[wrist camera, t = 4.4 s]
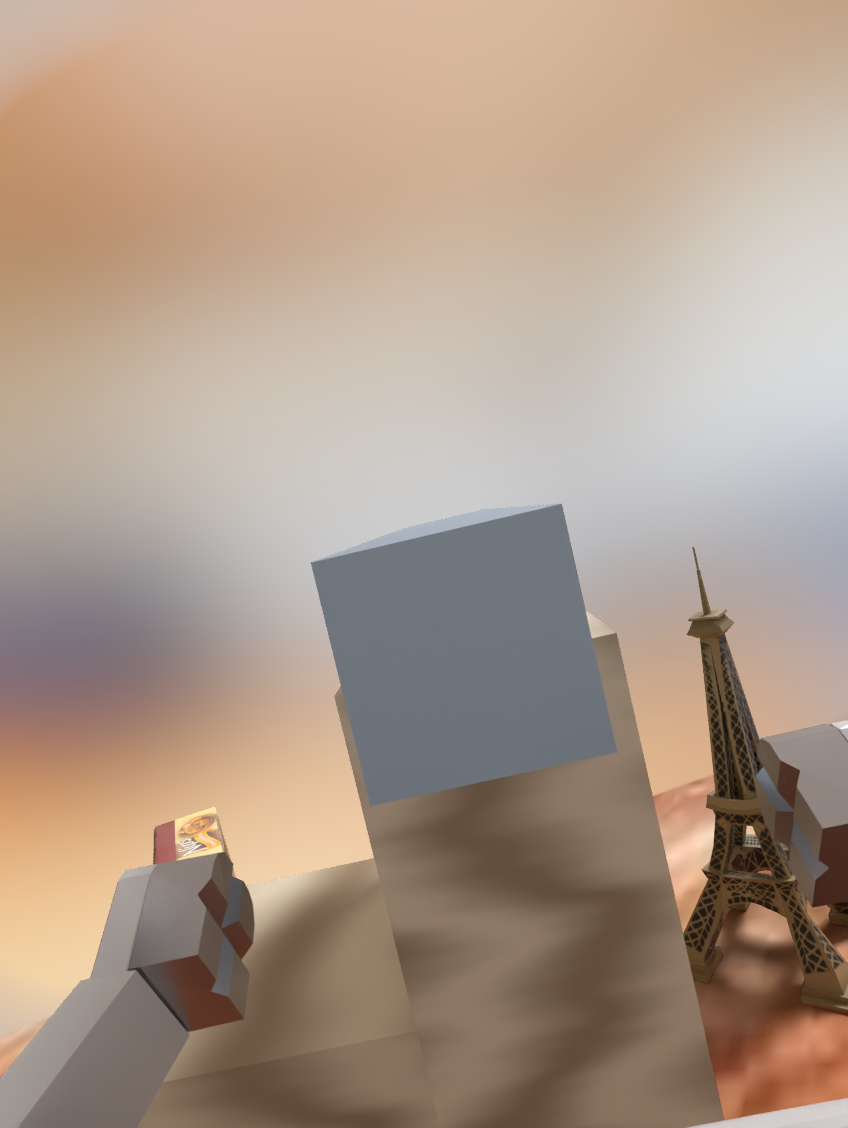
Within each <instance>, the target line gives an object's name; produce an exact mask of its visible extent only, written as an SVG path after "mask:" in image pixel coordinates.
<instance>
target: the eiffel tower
mask: <svg viewBox="0 0 848 1128" xmlns="http://www.w3.org/2000/svg"><path fill="white" fill-rule="evenodd" d="M693 552H694V557H695V561H696V566H697V575H698V580H699V587H700V593H701V600H702V606H703V612H698V613H696V614H695V615H693V616H692V617H691V618H689V620H688V621H693V622H692V624H691V627H690V630H689V631H688V633H687V635H689V636H693V637H696V638H700V643H701V653H702V663H703V673H704V682H705V692H706V702H707V712H708V722H709V731H710V742H711V752H712V762H713V772H714V782H715V790H714V791H712V792H711V793H709V794H708V795H707V805H706V808H709V809H713V811H714V813H715V815H716V818H715V832H714V846H713V851H712V855H711V860H710V861H709V863H708V864H707V865H706V866H705V867H704V868H703V869H701V870H702V871H703V872H704V874H705V875H706V877H707V878H708V881H707V883H706V886H705V888H704V890H703V892H702V894H701V896H700V898H699V901H698V903H697V905H696V907H695V909H694V911H693V914H692V916H691V918H690V920H689V922H688V925H687V927H686V929H685V931H684V933H683V936H684V940H685V945H686V949H687V954H688V958H689V963H690V967H691V972H692V976H693V980H694V981H699V982H703V983H709V981H710V979H711V977H712V975H713V973H714V971H715V970H716V968H717V966H718V964H719V962H720V960H721V958H722V956H723V955H722V951H721V947H717V946H715V944H716V942H717V939H718V936H719V934H720V931H721V929H722V926H723V923H724V921H725V918H726V916H727V913H728V912H729V911H730V910H731V909H735V910H742V911H747V909H748V907H749V905H750V903H751V902H752V903H756V904H759V905H761V906H763V907H766V908H768V909H770V910H772V911H775V912H777V913H779V914H780V915H782V916H784V917H786V918H787V921H788V925H789V928H790V932H791V935H792V938H793V942H794V945H795V948H796V952H797V955H798V959H799V962H800V965H801V969H802V972H803V975H804V982H803V984H802V987H801V992H802V996H801V999H800V1001H801V1004H805V1005H809V1006H814V1007H819V1008H823V1009H828V1010H833V1011H837V1012H842V1013H846V1014H848V963H847V962H846V961H845V959H844V958H843V957H842V956H841V954H840V953H839V952H838V951H837V950H836V948H835V947H834V946H833V945H832V943H831V942H830V941H829V940H828V938H827V937H826V936H825V935H824V934H823V932H822V931H821V930H820V929H819V927H818V926H817V925H816V924H815V922H814V921H813V920H812V919H811V917H810V916H809V915H808V914H807V911H806V910H807V897H806V896H805V894H804V892H803V890H802V888H801V887H800V885H799V883H798V881H797V879H796V878H795V876H794V874H793V872H792V870H791V869H790V867H789V857H790V848H789V847H787V846H785V845H784V844H782V843H781V842H779V841H777V840H776V839H774V838H773V836H772V834H771V832H770V830H769V828H768V826H767V824H766V822H765V820H764V817H763V815H762V813H761V810H760V807H759V803H758V798H757V794H756V775H757V774H758V773H759V771H760V770H761V769H762V768H763V765H762V763H761V762H760V760H759V758H758V757H757V747H758V743H759V741H760V740H759V737H758V734H757V731H756V728H755V725H754V722H753V718H752V715H751V712H750V709H749V706H748V703H747V700H746V698H745V694H744V691H743V689H742V686H741V682H740V679H739V676H738V673H737V670H736V667H735V664H734V661H733V658H732V655H731V652H730V649H729V646H728V643H727V640H726V637H725V632H726V631H727V630H728V629H729V628H730V627H731V626H732V624H733V623H734V622H733V621H732V620H730V619H729V618H728V617H727V616H726V615H725V614H724V613H726V612H727V610H726V609H724V610H714V611H710V607H709V603H708V600H707V596H706V592H705V589H704V585H703V581H702V578H701V573H700V570H699V568H698V563H697V558H696V553H695V549H694V547H693ZM747 826H753V828H754V831H755V834H756V835H749V834H746V827H747ZM763 870H770V871H771V872H772V875H770V874H762V873H757V872H759V871H763ZM827 906H828V907H829V908H831V910H830V912H829V920H830V924H835V925H842V926H848V901H847V902H841V903H835V904H829V905H827Z"/></svg>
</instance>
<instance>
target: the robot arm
mask: <svg viewBox="0 0 848 1128" xmlns="http://www.w3.org/2000/svg"><path fill="white" fill-rule="evenodd" d="M757 757H758V758H759V760H760V762H761V763H762V765H763V768H762V769H761V770H760V771H759V773H758V774H757V775H756V794H757V798H758V803H759V807H760V810H761V813H762V815H763V817H764V820H765V822H766V824H767V826H768V828H769V830H770V832H771V834H772V836H773V838H774V839H776V840H777V841H779V842H781V843H782V844H784V845H785V846H787V847H789V848H790V857H789V867H790V869H791V870H792V872H793V874H794V876H795V878H796V879H797V881H798V883H799V885H800V887H801V888H802V890H803V892H804V894H805V896H806V897H807V899H808V901H809V903H810V904H811V906H812V907H818V906H824V905H829V904H835V903H841V902H847V901H848V720H845V721H841V722H836V723H832V724H822V725H818V726H814V727H810V728H805V729H801V730H796V731H791V732H787V733H783V734H778V735H773V736H769V737H764V738H761V739H760V741H759V743H758V747H757ZM232 870H233V863H232V862H231V860H230V859H229V857H228V856H227V854H226V853H225V852H220V853H215V854H209V855H204V856H198V857H193V858H187V859H182V860H176V861H171V862H165V863H160V864H154V865H150V866H145V867H139V868H135V869H130V870H125V872H124V874H123V875H122V876H121V878H120V879H119V881H118V883H117V887H116V890H115V894H114V897H113V901H112V904H111V908H110V911H109V915H108V918H107V922H106V925H105V928H104V932H103V935H102V939H101V943H100V946H99V949H98V953H97V957H96V960H95V964H94V967H93V971H92V974H91V977H90V979H87V980H82V981H80V982H79V984H78V985H77V986H76V987H75V988H74V989H73V991H72V992H71V993H70V994H69V996H68V997H67V998H66V999H65V1000H64V1002H63V1003H62V1004H61V1005H60V1007H59V1008H58V1009H57V1010H56V1011H55V1013H54V1014H53V1015H52V1016H51V1017H50V1019H49V1020H48V1021H47V1022H46V1023H45V1025H44V1026H43V1027H42V1028H41V1030H40V1031H39V1032H38V1033H37V1034H36V1036H35V1037H34V1038H33V1039H32V1040H31V1042H30V1043H29V1044H28V1045H27V1047H26V1048H25V1049H24V1050H23V1051H22V1053H21V1054H20V1055H19V1056H18V1057H17V1059H16V1060H15V1061H14V1062H13V1063H12V1065H11V1066H10V1067H9V1068H8V1070H7V1071H6V1072H5V1073H4V1074H3V1076H2V1077H1V1078H0V1128H137V1126H138V1125H139V1123H140V1121H141V1120H142V1118H143V1116H144V1114H145V1113H146V1111H147V1109H148V1107H149V1106H150V1104H151V1102H152V1100H153V1099H154V1097H155V1095H156V1093H157V1092H158V1090H159V1088H160V1087H161V1085H162V1083H163V1081H164V1080H165V1078H166V1076H167V1074H168V1073H169V1071H170V1069H171V1067H172V1066H173V1064H174V1062H175V1060H176V1059H177V1057H178V1055H179V1053H180V1052H181V1050H182V1048H183V1047H184V1045H185V1043H186V1041H187V1040H188V1038H189V1036H190V1035H189V1033H188V1032H191V1031H195V1030H200V1029H204V1028H208V1027H213V1026H217V1025H221V1024H226V1023H230V1022H235V1021H239V1020H243V1019H245V1010H246V1002H247V993H248V984H249V975H250V973H249V971H248V970H247V968H246V967H245V965H244V964H243V962H242V961H241V960H242V959H243V957H244V956H245V954H246V953H247V951H248V950H249V949H250V947H251V946H252V944H253V938H254V927H255V922H254V910H253V903H252V899H251V896H250V893H249V890H248V888H247V887H246V885H245V883H244V882H243V881H242V880H239V879H237V878H235V877H233V876H232ZM686 1128H848V1098H844V1099H838V1100H833V1101H828V1102H822V1103H817V1104H811V1105H806V1106H800V1107H795V1108H790V1109H784V1110H779V1111H773V1112H768V1113H762V1114H757V1115H752V1116H746V1117H741V1118H735V1119H730V1120H724V1121H719V1122H713V1123H708V1124H703V1125H697V1126H692V1127H686Z"/></svg>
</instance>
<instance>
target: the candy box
mask: <svg viewBox="0 0 848 1128" xmlns="http://www.w3.org/2000/svg"><path fill="white" fill-rule="evenodd" d="M153 850H154V853H153V865H154V864H160V863H165V862H171V861H176V860H182V859H187V858H193V857H198V856H204V855H209V854H215V853H220V852H225V853H226V854H227V856H228V857H229V859H230V855H229V853H228V849H227V845H226V842H225V839H224V835H223V832H222V829H221V825H220V822H219V818H218V815H217V811H216V808H215V807H213V808H209V809H206V810H204V811H200V812H197V813H194V814H191V815H188V816H185V817H182V818H180V819H177V820H174V821H171V822H168V823H165V824H162V825H159V826H157V827H155V829H154V849H153ZM230 860H231V859H230ZM232 876H233V877H235V873H234V870H232ZM235 878H236V877H235Z"/></svg>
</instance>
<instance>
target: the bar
mask: <svg viewBox="0 0 848 1128" xmlns="http://www.w3.org/2000/svg"><path fill="white" fill-rule="evenodd" d="M311 565H312V569H313V573H314V577H315V581H316V585H317V589H318V594H319V598H320V602H321V606H322V610H323V614H324V618H325V622H326V626H327V630H328V634H329V639H330V642H331V647H332V651H333V655H334V659H335V663H336V667H337V671H338V675H339V679H340V683H341V688H342V692H343V696H344V700H345V704H346V708H347V712H348V716H349V720H350V724H351V728H352V732H353V737H354V741H355V745H356V749H357V753H358V757H359V761H360V765H361V769H362V773H363V777H364V781H365V786H366V790H367V794H368V798H369V802H370V806H373V805H378V804H382V803H387V802H391V801H396V800H401V799H405V798H410V797H414V796H419V795H423V794H428V793H433V792H437V791H442V790H446V789H451V788H456V787H460V786H465V785H469V784H474V783H479V782H483V781H488V780H492V779H497V778H501V777H506V776H511V775H515V774H520V773H524V772H529V771H534V770H538V769H543V768H547V767H552V766H557V765H561V764H566V763H570V762H575V761H580V760H584V759H589V758H593V757H598V756H602V755H607V754H612V753H616V752H617V749H616V744H615V740H614V735H613V731H612V726H611V722H610V717H609V713H608V709H607V704H606V700H605V695H604V691H603V686H602V682H601V677H600V673H599V668H598V664H597V659H596V655H595V650H594V646H593V641H592V637H591V633H590V628H589V624H588V619H587V615H586V610H585V606H584V601H583V597H582V592H581V588H580V583H579V579H578V574H577V570H576V566H575V561H574V557H573V552H572V548H571V543H570V539H569V534H568V530H567V525H566V521H565V516H564V512H563V507H562V504H552V505H538V506H525V507H511V508H498V509H484V510H480V511H475V512H471V513H467V514H463V515H459V516H454V517H450V518H446V519H441V520H437V521H434V522H429V523H424V524H420V525H416V526H412V527H408V528H404V529H401V530H399V531H396V532H393V533H391V534H388V535H385V536H382V537H380V538H377V539H374V540H371V541H369V542H366V543H363V544H361V545H358V546H355V547H352V548H350V549H347V550H344V551H341V552H339V553H336V554H333V555H330V556H328V557H325V558H322V559H320V560H317V561H314V562H311Z"/></svg>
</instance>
